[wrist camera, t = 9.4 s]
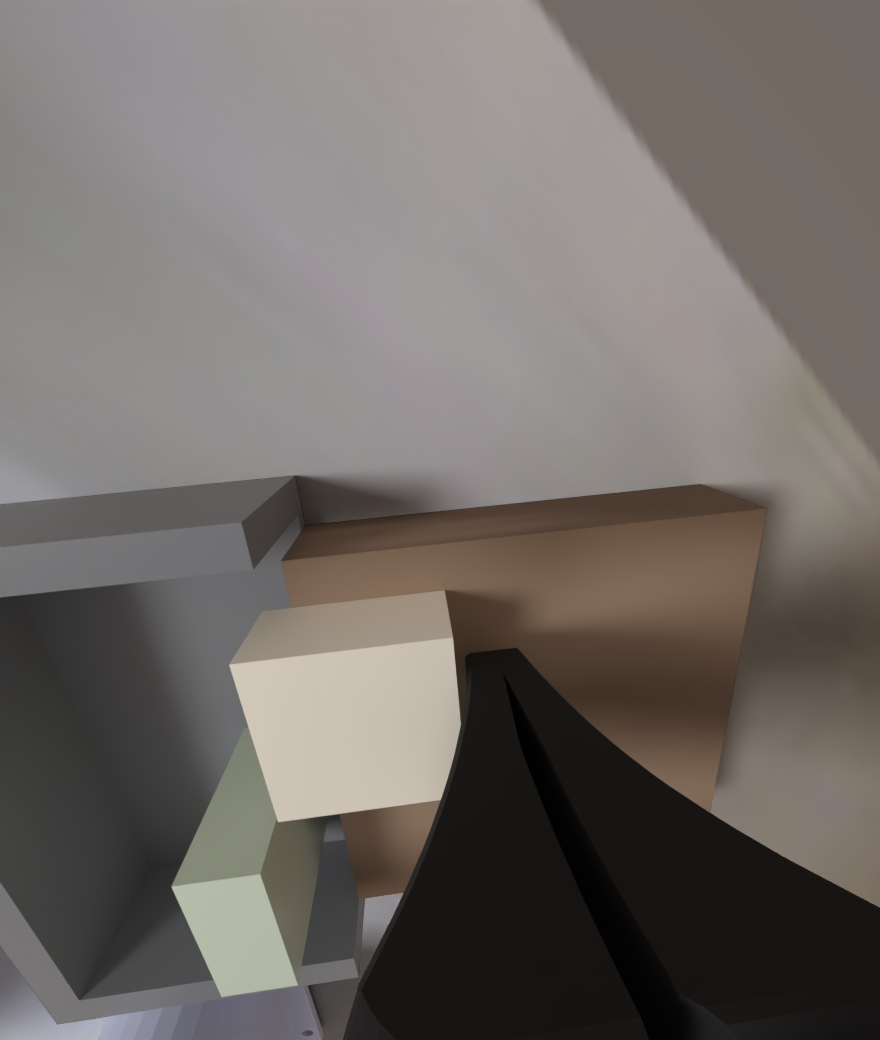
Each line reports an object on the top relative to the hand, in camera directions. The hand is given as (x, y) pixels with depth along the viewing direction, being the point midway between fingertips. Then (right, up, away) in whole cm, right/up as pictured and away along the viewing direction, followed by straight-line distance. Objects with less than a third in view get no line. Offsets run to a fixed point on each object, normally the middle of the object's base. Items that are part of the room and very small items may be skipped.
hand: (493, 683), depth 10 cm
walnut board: (+1, -1, +4) cm, 5 cm away
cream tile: (-3, 0, +1) cm, 3 cm away
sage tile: (-5, -6, +2) cm, 8 cm away
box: (-9, -2, +4) cm, 10 cm away
